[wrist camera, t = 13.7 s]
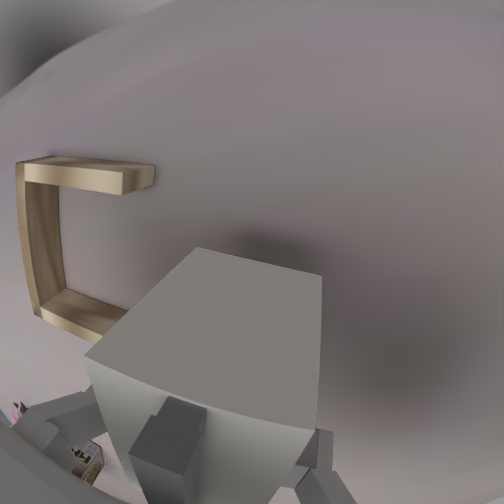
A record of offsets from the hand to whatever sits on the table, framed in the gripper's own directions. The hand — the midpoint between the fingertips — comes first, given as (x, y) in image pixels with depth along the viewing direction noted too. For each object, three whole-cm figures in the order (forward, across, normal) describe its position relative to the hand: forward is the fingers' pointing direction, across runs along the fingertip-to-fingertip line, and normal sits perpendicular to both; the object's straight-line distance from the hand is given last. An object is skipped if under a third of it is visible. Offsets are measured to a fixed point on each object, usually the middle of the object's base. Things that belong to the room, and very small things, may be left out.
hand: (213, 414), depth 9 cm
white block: (+4, 0, 0) cm, 4 cm away
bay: (+10, +13, 0) cm, 16 cm away
